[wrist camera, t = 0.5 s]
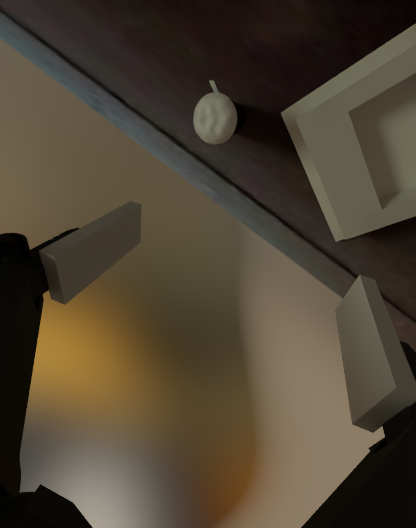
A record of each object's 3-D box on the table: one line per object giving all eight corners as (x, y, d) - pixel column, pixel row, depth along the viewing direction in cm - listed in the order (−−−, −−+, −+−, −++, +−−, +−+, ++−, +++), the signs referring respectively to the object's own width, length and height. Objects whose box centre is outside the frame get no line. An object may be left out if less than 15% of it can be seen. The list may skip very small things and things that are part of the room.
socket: (281, 112, 30) (277, 113, 26) (488, -24, 21) (527, -53, 17) (335, 238, 35) (338, 253, 31) (518, 175, 26) (552, 185, 22)
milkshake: (255, 89, 29) (236, 81, 21) (247, 139, 32) (228, 149, 24) (218, 87, 30) (187, 78, 22) (214, 135, 33) (185, 143, 25)
